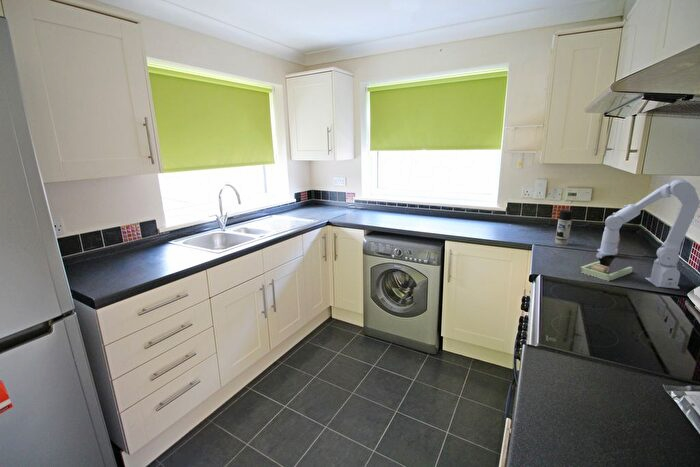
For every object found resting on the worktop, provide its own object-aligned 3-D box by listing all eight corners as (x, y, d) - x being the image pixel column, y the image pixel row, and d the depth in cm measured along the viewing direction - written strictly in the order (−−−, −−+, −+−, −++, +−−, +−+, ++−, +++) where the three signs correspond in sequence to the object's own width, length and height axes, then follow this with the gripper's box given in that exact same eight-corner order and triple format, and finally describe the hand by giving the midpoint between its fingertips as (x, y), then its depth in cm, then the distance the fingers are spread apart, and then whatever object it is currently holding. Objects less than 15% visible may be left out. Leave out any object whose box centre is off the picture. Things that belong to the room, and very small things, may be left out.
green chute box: (602, 264, 170) (603, 259, 169) (631, 272, 160) (632, 267, 159) (578, 272, 160) (579, 267, 159) (608, 281, 150) (609, 275, 149)
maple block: (595, 271, 161) (597, 263, 159) (607, 275, 156) (609, 267, 155) (590, 273, 158) (591, 265, 157) (602, 277, 154) (603, 269, 153)
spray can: (552, 243, 205) (557, 210, 200) (557, 241, 209) (562, 209, 204) (564, 246, 200) (570, 212, 195) (569, 243, 204) (575, 211, 199)
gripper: (607, 237, 162) (602, 264, 166) (591, 242, 155) (586, 270, 159) (625, 241, 156) (619, 269, 160) (608, 246, 149) (603, 275, 153)
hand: (603, 270), depth 159 cm, fingers closed
